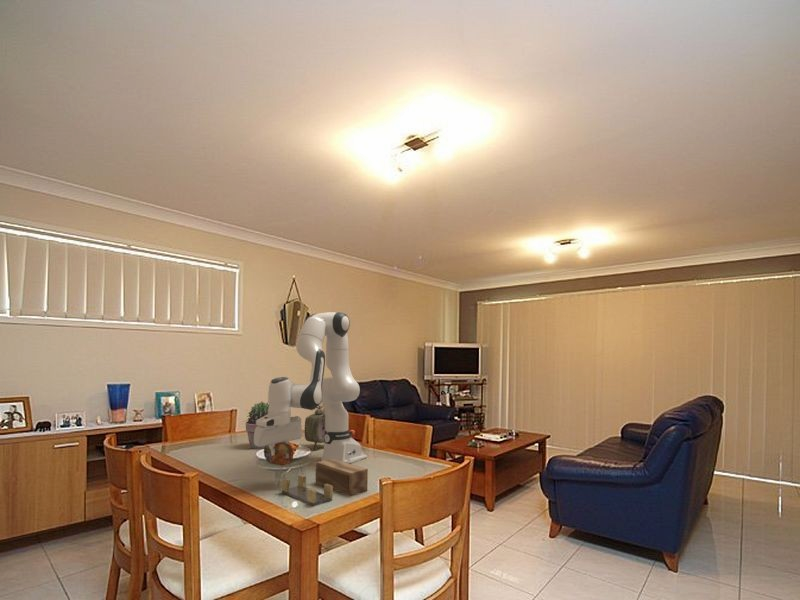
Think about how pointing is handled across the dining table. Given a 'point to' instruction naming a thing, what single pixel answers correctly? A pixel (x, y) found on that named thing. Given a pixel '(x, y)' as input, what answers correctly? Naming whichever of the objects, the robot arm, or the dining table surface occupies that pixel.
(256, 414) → the potted plant
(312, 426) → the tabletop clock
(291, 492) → the grey pegged base
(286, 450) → the brown curved piece
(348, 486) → the brown wooden block
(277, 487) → the dining table surface
